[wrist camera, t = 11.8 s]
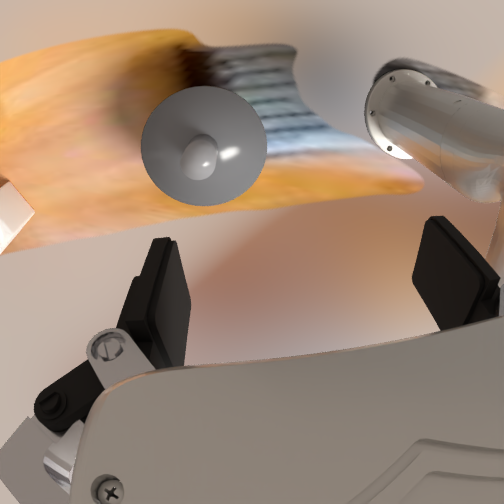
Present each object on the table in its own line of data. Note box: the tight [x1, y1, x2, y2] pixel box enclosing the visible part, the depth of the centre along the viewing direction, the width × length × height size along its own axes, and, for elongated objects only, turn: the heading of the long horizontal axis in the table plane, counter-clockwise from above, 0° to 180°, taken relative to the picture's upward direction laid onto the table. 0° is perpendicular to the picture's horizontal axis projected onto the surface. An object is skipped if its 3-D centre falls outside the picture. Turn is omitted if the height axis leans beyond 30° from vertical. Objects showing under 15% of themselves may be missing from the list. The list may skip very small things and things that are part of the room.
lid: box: [141, 86, 267, 206], centre depth 30 cm, size 13×13×6 cm
